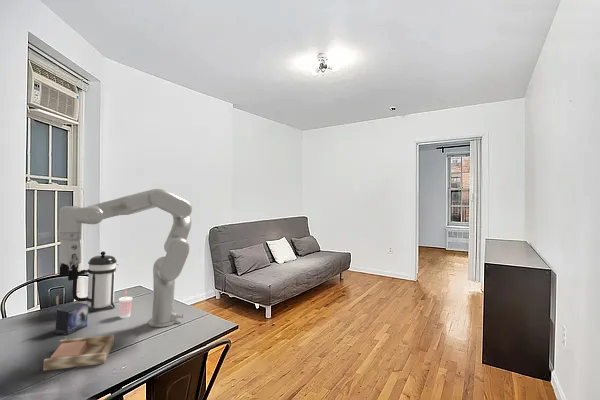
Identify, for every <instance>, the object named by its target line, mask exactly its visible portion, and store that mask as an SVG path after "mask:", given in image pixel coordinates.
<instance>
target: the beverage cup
mask: <svg viewBox="0 0 600 400" xmlns="http://www.w3.org/2000/svg"><path fill="white" fill-rule="evenodd" d="M127 290H128V289H127V287H126V288H125V292H124V294H125V295H124V296H122V297H119V298H118V302H119V305H118V307H119V308H118V310H119V311H118V312H119V318H120V319H127V318H130V317H131V311H132V310H131V309H132V304H133V303H132V302H133V297H132V296H127Z"/></svg>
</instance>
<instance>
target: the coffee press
mask: <svg viewBox="0 0 600 400" xmlns="http://www.w3.org/2000/svg"><path fill="white" fill-rule="evenodd" d="M99 254H100V255H95V256H93V257H91V258H90V259H89V261H88V262H87V264H88V268H87V269H82V270H78V278H79V277H80V276H81V275H84V274H88V278H87V279H88V280H87V296H86V297H79V296H78V293H77V292H78V291H77V290H78V279H77V280H72V292H71V293H72V299H73V300H75V301H77V302H86V304H88V308H89V309H88V312H89V313H94V312H95V310H96V309H102V308H107V307H109V308H110V309H112V310H113V309H115V308H116V306H115V304H114V302H115V285H116V282H115V281H116V271H117V270H116V269H117V267H116V266H119V265H120V263H118V262H117V258H116V257H114V256H113V255H107V254H106V251H101V252H100V253H99Z"/></svg>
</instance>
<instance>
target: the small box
mask: <svg viewBox="0 0 600 400" xmlns="http://www.w3.org/2000/svg"><path fill="white" fill-rule="evenodd" d="M88 312H89V307H88V304H87V303H83V302H75V303H72V304H70V305H67V306H63V307H61V308H58V309H56V314H55V315H56V316H55V330H54V334H56V335H62V336H68V335H71V334H73V333H76V332H77V331H79V330H82V329H84V328H87V327H88V315H89V313H88Z"/></svg>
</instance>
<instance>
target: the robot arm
mask: <svg viewBox="0 0 600 400" xmlns="http://www.w3.org/2000/svg"><path fill="white" fill-rule="evenodd" d="M155 208H157V209H160V210H162V211H164V212H166V213H169V214H171V216H172V219H173V220H172V221H173V222H172V226H171V229H170V231H169V232H168V235H167V238H166V240H165V242H164V245H163V249H164V251H165V253H166V254H165V256H161V257H158V258H157V259H156V260H155V261H154V263H153V267H152V274H153V276H152V278H153V287H152V307H151V309H152V311H151V312H152V313H151V318H150V319H149V320H148V321H147V323H148V326H150V327H151V328H152V327H153V328H164V327H165V326H166V327H169V325H170V326H172V325H174V324H176V323H177V319H183V318H184V313H181V312H175V309H174V307H175V289H176V288H175V286H176V285H175V284H176V281H175V280H176V279H178V278H179V276H180V275H181V272H182V270H183V268H184V266H185V263H186V261H187V259H188V256H189V254H190V244H189V241H188V240H187V239H188V236H189V233H190V231H191V228H192V217H191V214H192V211H193V205H191V203H190V202H189V201H188V200H186V199H184V198H181V197H179V196H177V195H176V194H174V193H171V192H169V191H167V190H164V189H163V188H153V189H149V190H145V191H141V192H136V193H134V194H130V195H126V196H122V197H118V198H115V199H112V200H108V201H103V202H99V203H96V204H91V205H88V206H87V207H85V206H84V207H81V206H74V205H71V206H69V205H68V206H67V205H65V206H62V207H61V208H60V209H59V224H58V241H60V244H59V257H58V258H59V259H58V260H59V273H58V274H59V276H60V277H65V276H67V280H68V281H73V280H77V281H78V279H79V277H78V272H79V266H80V264H81V263H82V252H81V251H82V247H81V240H82V228H83V227H82V226H83V224H86V225H97V224H99V223H101V222H102V221H103V220H106V219H109V218H113V217H117V216H118V217H119V216H129V215H134V214H136V213H140V212H145V211H149V210H151V209H155Z"/></svg>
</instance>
